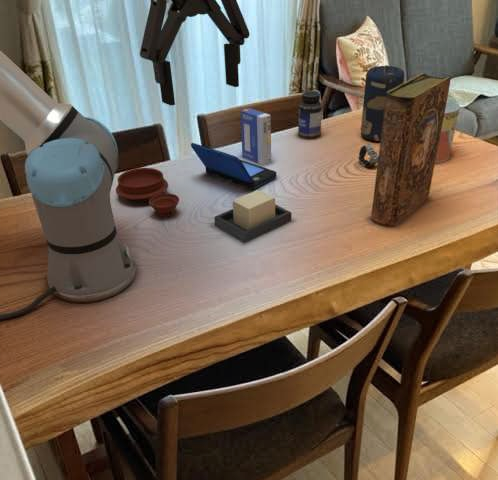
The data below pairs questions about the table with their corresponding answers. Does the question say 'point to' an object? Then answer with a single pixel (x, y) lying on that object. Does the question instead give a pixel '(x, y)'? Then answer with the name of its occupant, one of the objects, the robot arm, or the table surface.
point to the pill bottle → (310, 115)
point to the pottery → (147, 189)
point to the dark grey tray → (228, 225)
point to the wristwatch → (371, 153)
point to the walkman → (256, 136)
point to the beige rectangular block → (253, 209)
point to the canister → (377, 98)
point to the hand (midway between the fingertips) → (201, 94)
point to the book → (408, 147)
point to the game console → (232, 167)
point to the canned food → (447, 131)
